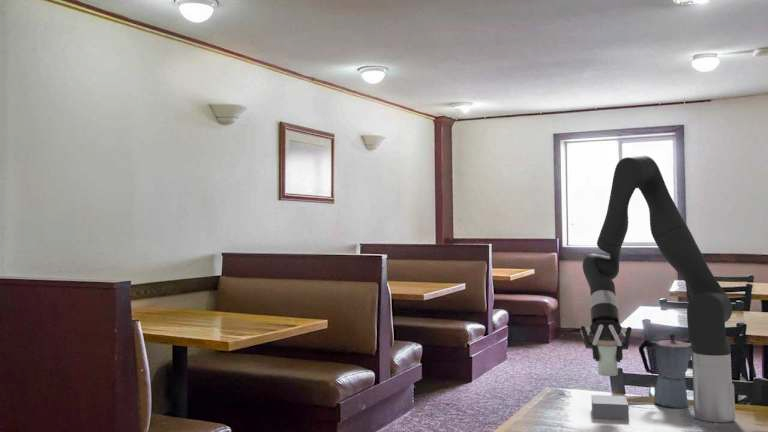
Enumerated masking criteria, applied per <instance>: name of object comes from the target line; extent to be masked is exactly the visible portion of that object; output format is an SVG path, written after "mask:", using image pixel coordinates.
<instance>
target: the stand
mask: <svg viewBox="0 0 768 432" xmlns="http://www.w3.org/2000/svg"><path fill="white" fill-rule="evenodd" d="M590 398H591V414H592V418H593V419H598V420H600V419H601V420H602V419H603V420H619V421H621V420H622V421H629V420H630V417H629V416H630V415H629V414H630V412H629V410H630V409H629V403H628V400H627V398H626V395H606V394H605V395H601V394H591V397H590Z"/></svg>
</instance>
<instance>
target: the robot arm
mask: <svg viewBox="0 0 768 432" xmlns="http://www.w3.org/2000/svg"><path fill="white" fill-rule="evenodd" d="M636 189H639V191H640V192H641V194H642V196H643V198H644V199H645V202H646V204H647V206H648V212H649V213H648V214H649V227H650V232H651V236H652V238H653V240H654V242H655V243H656V245H657V247H658V250H659V251H660V253H661V255H662V256H663V258H664V259H665V260H666V261H667V263H668V264H670V266H671V267H672V268H673V269H674V270H675V271H676V272H677V273H678V274H679V275H680V276H681V278H682V279H683V281H684V283H686V286H687V287H688V290H689V291H690V294H691V298H690V299H689V301H688V302H687V307H686V320H687V322H686V323H687V332H688V333H687V334H688V340H689V344H691V346H692V356H691V362H692V363H691V364H692V387H693V390H692V391H693V392H692V393H693V394H692V395H693V417H695V419H699V420H702V421H704V422H705V421H706V422H709V423H729V422H736V405H735V404H736V403H735V401H736V400H735V385H734V383H733V382H732V359H731V358H732V356H731V355H732V354H731V352H732V351H731V350H732V349H731V343H730V342H729V341H728V338H727V336H726V323H727V322H728V321H729V320H730V318H731V317H732V314H733V303H732V302H731V300H730V297H729V296H728V295H727V293H726V292H725V290H724V289H723V288H722V286H721V285H720V283H719V282H718V280H717V279H716V277H715V276H714V275H713V273H712V271H711V270H710V268H709V266H708V263H707V262H706V260H705V258H704V256H703V254H702V252H701V250H700V248H699V246H698V244H697V242H696V241H695V238H694V236H693V234H692V232H691V231H690V228H689V227H688V225H687V223H686V222H685V219H684V218H683V217H682V215H681V213H680V211H679V209H678V206H676V203H675V201H674V200H673V197H672V196H671V194H670V191H669V190H668V187H667V185H666V182H665V180H664V177H663V175H662V172H661V170H660V168H659V166H658V164H657V162H656V161H655V160H654V159H653V158H652V157H650V156H647V155H635V156H634V155H631V156H624V157H623V158H621V159H620V160H619V161H618V162H617V164H616V166H615V169H614V172H613V178H612V184H611V189H610V194H609V195H610V196H609V199H608V205H607V211H606V215H605V218H604V220H603V224H602V226H601V229H600V233H599V235H598V238H597V242H596V245H597V248H598V249H599V250H601V251H602V252H605V253H607V254H609V256H607V255H603V254H599V253H589V254H587V255H585V257H584V258H583V261H582V271H583V275H584V277H585V279H586V282H587V284H588V286H589V291H590V302H589V303H590V305H589V306H590V308H589V311H590V320H591V321H590V323H591V324H590V326H588V327H586V326H584V325H582V326H580V334H581V337H582V340H583V343H584V346H585V348H586V349H591V350H592V358H593V360H595V362H598V360H599V357H598V345H597V340H600V339H611V340H616V341H617V363H621V361H623V358H624V356H623V355H624V354H623V350H628V349H629V347H630V343H631V342H630V341H631V337H632V336H631V335H632V327H631V326H627V327H622V326H621V324H620V318H619V317H620V316H619V306H618V305H619V304H618V300H617V297H616V296H617V295H616V286H615V282H614V281H613V280H614V279H615V278H617V276H618V274H619V273H620V255H621V249H622V246H623V243H624V240H625V238H626V235H627V232H628V228H629V204H630V201H631V198H632V196H633V194H634V193H635V191H636ZM590 332H591V334H593V336H594V337H593V341H591V340H590V338H589V337H590V336H589V335H590ZM621 333H622V335H623V336H624V341H623V342H622V341H621V339H620V337H619V336H620V334H621Z"/></svg>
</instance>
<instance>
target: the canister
mask: <svg viewBox="0 0 768 432" xmlns="http://www.w3.org/2000/svg"><path fill="white" fill-rule="evenodd" d="M597 345H598V357H599V360H598V361H597V375H600V376H605V377H615V376H618V374H619V373H618V362H617V341H616V340H611V339H600V340H597Z"/></svg>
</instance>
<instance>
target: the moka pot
mask: <svg viewBox="0 0 768 432" xmlns="http://www.w3.org/2000/svg"><path fill="white" fill-rule="evenodd" d="M646 347H648V348H650V349H654V352H655V361H656V368H657V369H658V370H657V379H656V380H657V381H656V388H655V393H654V399H653V403H655V404H657V405H659V406H662V407H666V408H675V409H682V408H684V409H685V408H686V407H687V408H688V403H689V402H688V393H687V381H686V379H685V378H686V373H687V372H688V367H689V362H690V359H692V346H691V343H688V342H683V341H679V340H676V334H673V333H672V334H669V339H664V340H663V339H662V340H658V341H657V340H654V341H653V340H648V339H645V340H644V341H643V342H642V343H641V344H640V345H639V346H638V352H639V355H640V358H641V359H642V363H643V367H644V369H645V372H646V373H650V374H655V372H656V370H655V369H651V368H650V367H649V364H648V360H647V357H646V353H645V349H644V348H646Z"/></svg>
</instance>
